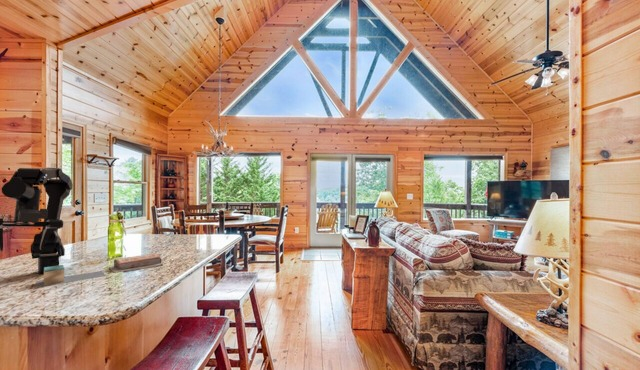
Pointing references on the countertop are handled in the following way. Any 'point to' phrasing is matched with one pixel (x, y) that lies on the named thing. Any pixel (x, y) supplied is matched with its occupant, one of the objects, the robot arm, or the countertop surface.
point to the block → (53, 274)
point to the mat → (73, 278)
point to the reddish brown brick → (136, 263)
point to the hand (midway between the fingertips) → (21, 250)
